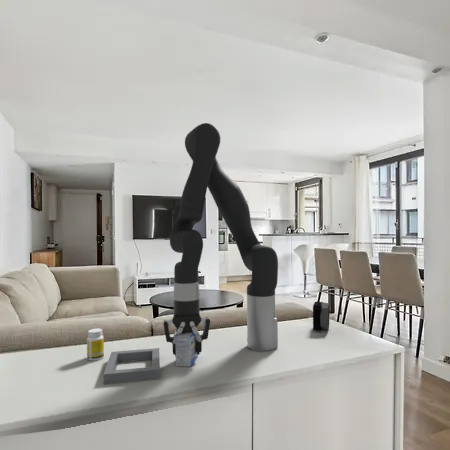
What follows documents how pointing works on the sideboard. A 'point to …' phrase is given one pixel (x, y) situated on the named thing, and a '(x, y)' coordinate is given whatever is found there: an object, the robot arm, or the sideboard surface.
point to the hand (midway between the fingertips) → (187, 354)
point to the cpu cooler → (321, 316)
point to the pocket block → (137, 373)
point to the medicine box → (186, 349)
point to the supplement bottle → (95, 345)
